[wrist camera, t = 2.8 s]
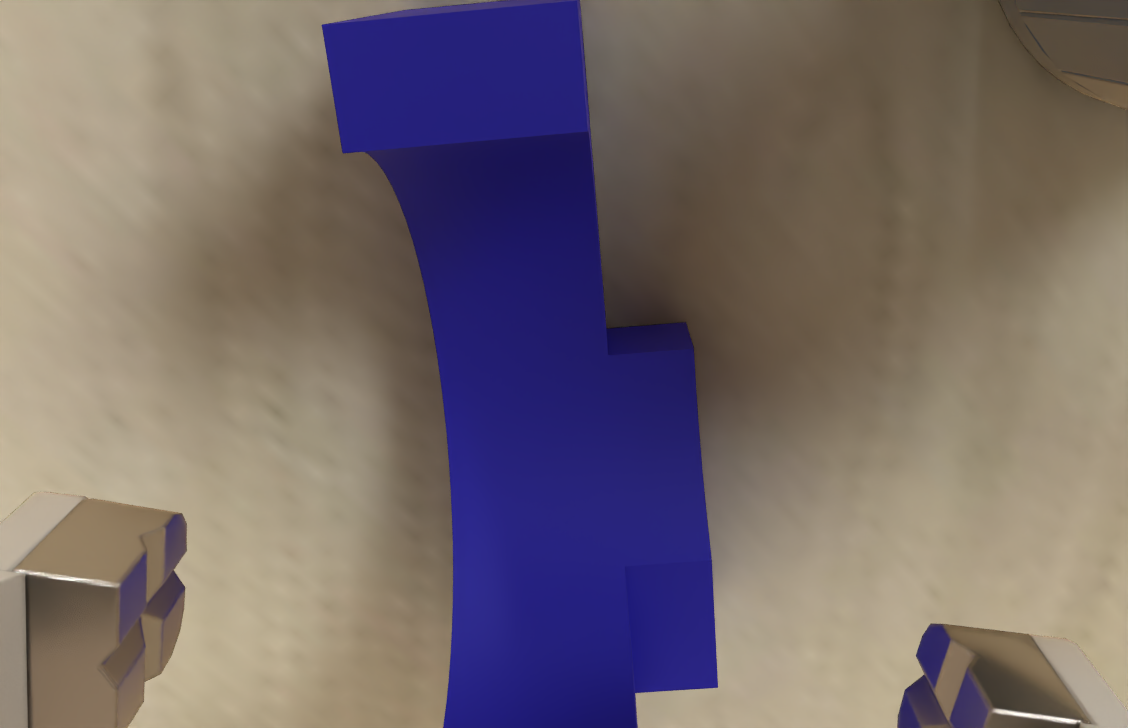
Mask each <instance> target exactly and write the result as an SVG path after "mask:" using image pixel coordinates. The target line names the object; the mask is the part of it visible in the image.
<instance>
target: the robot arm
mask: <svg viewBox="0 0 1128 728" xmlns="http://www.w3.org/2000/svg"><path fill="white" fill-rule="evenodd" d="M186 551H187V523H186V521H185V518H184V516H183V514H182V513H178V512H172V511H166V510H159V509H153V508H147V507H141V506H135V505H129V504H123V503H117V502H111V501H105V500H98V499H88V498H87V497H85V496H77V495H68V494H60V493H52V492H35V493H33V494H32V495H31V496H30V497H29V498H28V499H26V500H25V501H24V502H23V503H22V504H21V505H20V506H19V507H18V508H16V509H15V510H14V511H13V512H12V513H11V514H10V515H9V516H8V517H6V518H5V519H4V520H3V521H2V522H1V523H0V728H127V727H128V726H129V724H130V723H131V721H132V720H133V718H134V716H135V715H136V713H137V712H138V710H139V708H140V707H141V705H142V704H143V702H144V682H146V681H148V680H150V679H152V678H154V677H156V676H158V675H160V674H161V673H162V671H163V670H164V668H165V666H166V664H167V663H168V661H169V659H170V658H171V656H172V653H173V650H174V647H175V644H176V642H177V639H178V636H179V633H180V630H181V624H182V618H183V612H184V602H185V586H184V585H183V583H182V582H181V581H180V579H179V578H178V576H177V575H176V573H175V572H174V569H175V567H176V566H177V564H178V563H179V561H180V560H181V558H182V557H183V556H184V554H185V553H186ZM916 657H917V659H918V661H919V664H920V666H921V668H922V670H923V673H924V675H923V676H922V677H921V678H919V679H918V680H917V681H916V682H914V683H913V684H912V685H911V686H909V687H908V688H907V689H906V690H905V692H904V696H903V699H902V703H901V707H900V710H899V714H898V725H897V728H1128V710H1127V709H1126V707H1125V706H1124V705H1123V703H1122V702H1121V701H1120V699H1119V698H1118V697H1117V695H1116V694H1115V693H1114V692H1113V690H1112V689H1111V688H1110V686H1109V685H1108V684H1107V682H1106V681H1105V680H1104V679H1103V677H1102V676H1101V675H1100V673H1099V672H1098V671H1097V669H1096V668H1095V667H1094V666H1093V664H1092V663H1091V662H1090V660H1089V659H1088V658H1087V656H1086V655H1085V654H1084V653H1083V651H1082V650H1081V649H1080V647H1079V646H1078V645H1077V644H1076V643H1074V642H1072V641H1070V640H1068V639H1066V638H1059V637H1049V636H1039V635H1029V634H1023V633H1015V632H1006V631H998V630H990V629H981V628H973V627H964V626H956V625H948V624H930V625H929V627H928V628H927V630H926V631H925V633H924V634H923V636H922V639H921V642H920V645H919V648H918V651H917V654H916Z"/></svg>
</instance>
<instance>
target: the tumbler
mask: <svg viewBox="0 0 1128 728" xmlns="http://www.w3.org/2000/svg"><path fill="white" fill-rule="evenodd" d="M999 2H1000V5H1001V7H1002V9H1003V11H1004V13H1005V15H1006V17H1007V20H1008V22H1009V24H1010V26H1011V27H1012V29H1013V30H1014V32H1015V33H1016V35H1017V37H1018V38H1019V40H1020V41H1021V43H1022V44H1023V46H1024V47H1025V48H1026V49H1027V50H1028V51H1029V53H1030V54H1031V55H1032V56H1033V57H1034V58H1035V59H1036V60H1037V61H1038V62H1039V64H1040V65H1041V66H1043V67H1044V68H1045V69H1046V70H1048V71H1049V72H1050V73H1051V74H1052V75H1054V76H1055V77H1056V78H1057V79H1059V80H1060V81H1061V82H1063V83H1065V84H1067V85H1068V86H1070V87H1072V88H1073V89H1075V90H1077V91H1079V92H1080V93H1083V94H1085V95H1088V96H1090V97H1093V98H1095V99H1098V100H1100V101H1103V102H1106V103H1110V104H1112V105H1114V106H1118V107H1120V108H1122V109H1126V110H1128V0H999Z"/></svg>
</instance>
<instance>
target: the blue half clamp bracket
mask: <svg viewBox="0 0 1128 728" xmlns="http://www.w3.org/2000/svg"><path fill="white" fill-rule="evenodd" d="M322 29H323V35H324V41H325V48H326V54H327V60H328V66H329V72H330V78H331V85H332V91H333V97H334V103H335V109H336V115H337V121H338V128H339V134H340V140H341V146H342V152H343V153H353V152H365V153H367V154H369V155H370V156H371V157H372V158H373V159H374V160H375V161H376V162H377V163H378V165H379V166H380V167H381V169H382V170H383V171H384V173H385V175H386V176H387V178H388V180H389V182H390V184H391V185H392V187H393V190H394V192H395V194H396V196H397V198H398V201H399V203H400V206H401V208H402V211H403V213H404V216H405V219H406V222H407V225H408V228H409V231H410V234H411V237H412V240H413V244H414V247H415V251H416V255H417V258H418V262H419V266H420V270H421V274H422V278H423V282H424V287H425V292H426V296H427V301H428V306H429V311H430V317H431V322H432V327H433V333H434V339H435V345H436V351H437V358H438V365H439V372H440V379H441V387H442V395H443V403H444V412H445V422H446V432H447V444H448V456H449V469H450V485H451V504H452V530H453V616H452V640H451V658H450V672H449V683H448V693H447V703H446V711H445V719H444V726H443V728H638V726H637V712H636V698H635V693H641V692H657V691H673V690H688V689H704V688H718V680H717V659H716V639H715V618H714V597H713V577H712V559H711V550H710V541H709V532H708V522H707V512H706V503H705V492H704V482H703V471H702V459H701V447H700V435H699V422H698V408H697V394H696V378H695V361H694V348H693V344H692V341H691V337H690V334H689V331H688V327H687V324H686V322H683V323H670V324H658V325H646V326H633V327H621V328H608V329H607V328H606V316H605V303H604V291H603V279H602V266H601V254H600V241H599V229H598V217H597V204H596V192H595V180H594V167H593V155H592V143H591V130H590V118H589V105H588V93H587V81H586V68H585V56H584V44H583V31H582V19H581V7H580V0H505V1H495V2H484V3H474V4H463V5H453V6H443V7H432V8H422V9H411V10H403V11H397V12H391V13H386V14H380V15H374V16H369V17H363V18H357V19H352V20H346V21H340V22H335V23H329V24H323V25H322Z"/></svg>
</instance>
